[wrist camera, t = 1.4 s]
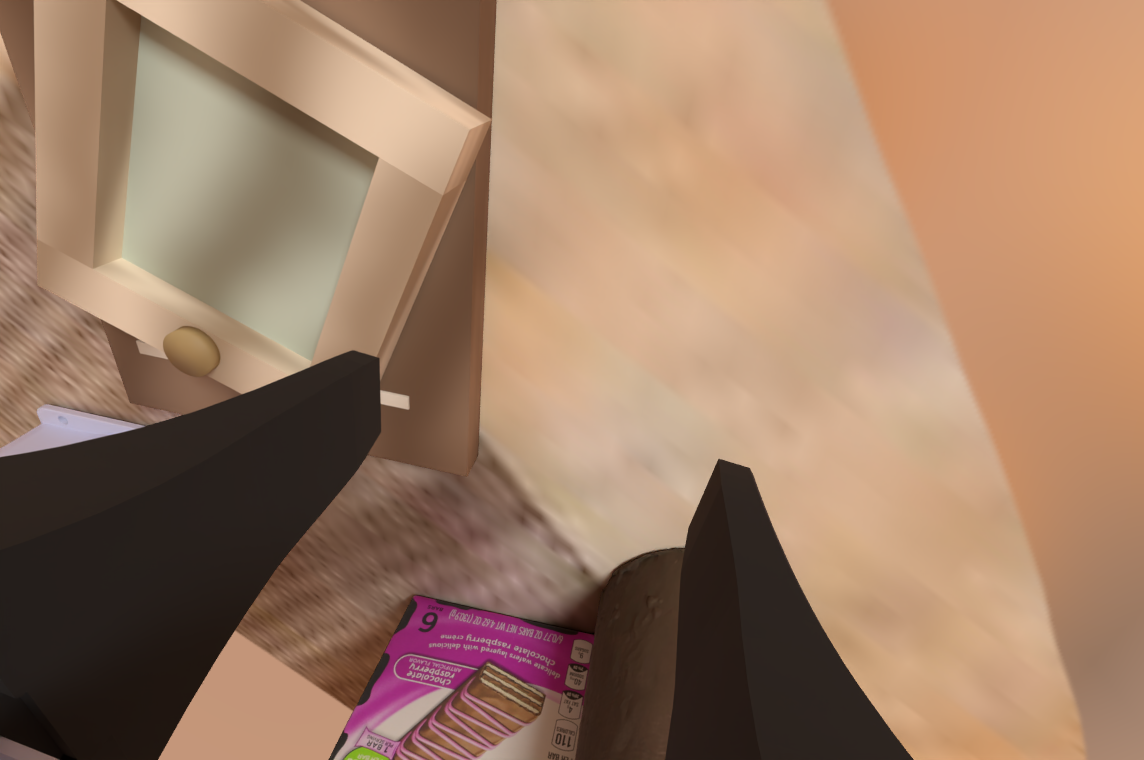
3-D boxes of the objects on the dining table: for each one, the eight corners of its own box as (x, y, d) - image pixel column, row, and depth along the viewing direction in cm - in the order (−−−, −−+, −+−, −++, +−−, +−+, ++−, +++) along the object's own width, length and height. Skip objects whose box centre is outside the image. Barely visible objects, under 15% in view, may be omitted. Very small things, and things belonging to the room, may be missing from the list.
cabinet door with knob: (86, 266, 23) (23, 290, 21) (103, -123, 16) (11, -145, 14) (365, 416, 24) (333, 454, 22) (492, 119, 17) (463, 132, 15)
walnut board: (155, 385, 28) (128, 403, 26) (-16, -158, 17) (-75, -173, 16) (478, 455, 26) (466, 478, 25) (500, -94, 16) (481, -105, 15)
